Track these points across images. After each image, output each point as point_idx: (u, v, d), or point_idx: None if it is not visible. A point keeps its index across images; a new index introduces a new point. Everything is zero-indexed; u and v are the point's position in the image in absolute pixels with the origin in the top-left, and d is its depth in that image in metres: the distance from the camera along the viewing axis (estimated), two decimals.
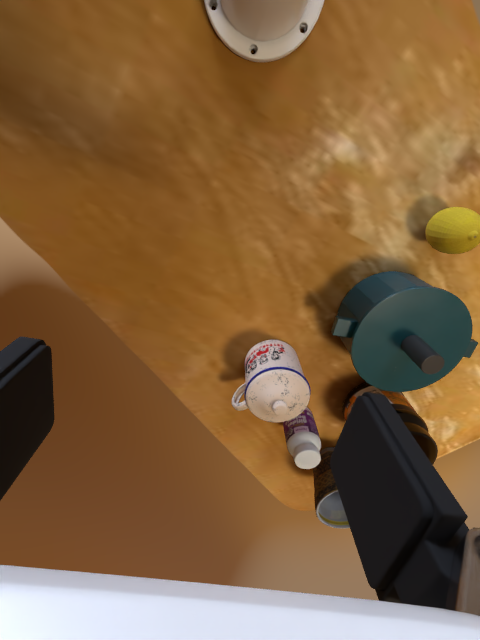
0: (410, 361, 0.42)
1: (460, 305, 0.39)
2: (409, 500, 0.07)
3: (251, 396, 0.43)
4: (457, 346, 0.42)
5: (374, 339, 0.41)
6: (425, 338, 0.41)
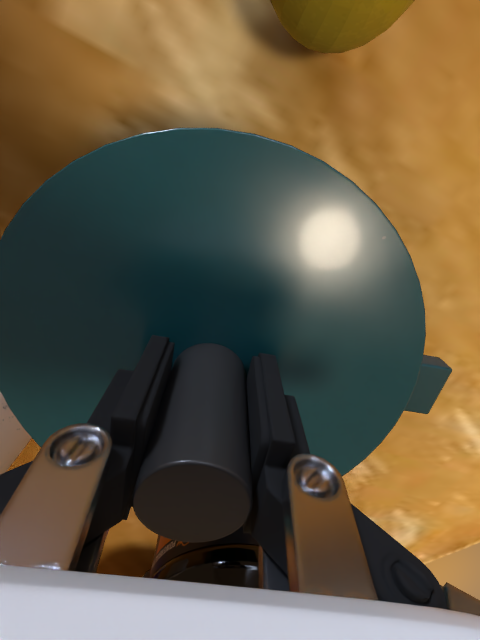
0: None
1: (370, 222, 0.09)
2: (257, 434, 0.08)
3: None
4: (375, 383, 0.12)
5: (67, 358, 0.11)
6: (257, 355, 0.11)
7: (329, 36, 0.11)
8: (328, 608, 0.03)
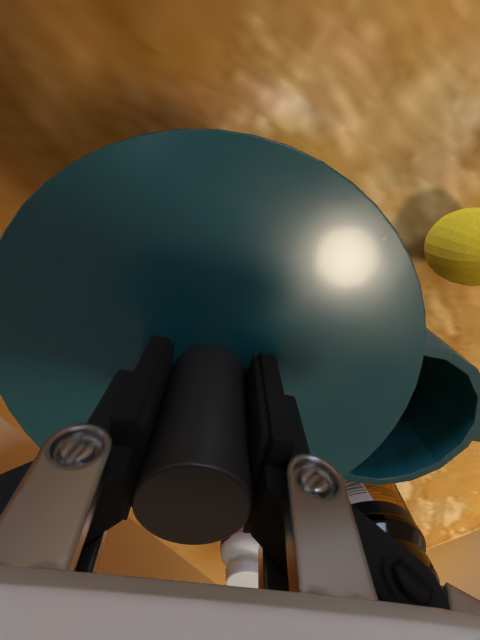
0: None
1: (370, 223, 0.09)
2: (257, 434, 0.08)
3: None
4: (375, 384, 0.12)
5: (66, 359, 0.11)
6: (257, 356, 0.11)
7: None
8: (328, 608, 0.03)
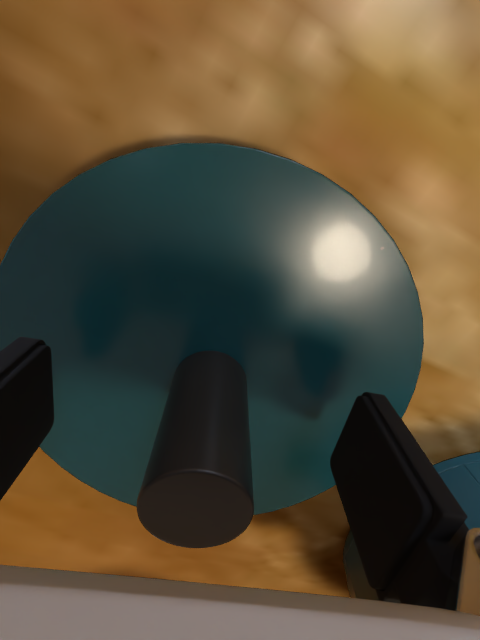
0: None
1: (368, 233, 0.10)
2: (409, 500, 0.07)
3: None
4: (374, 389, 0.12)
5: (71, 365, 0.11)
6: (258, 362, 0.11)
7: None
8: (328, 608, 0.03)
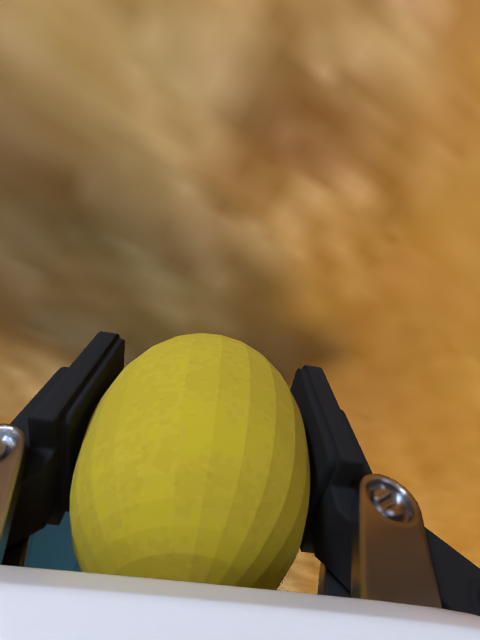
0: None
1: None
2: (320, 452, 0.07)
3: None
4: None
5: None
6: None
7: None
8: (328, 608, 0.03)
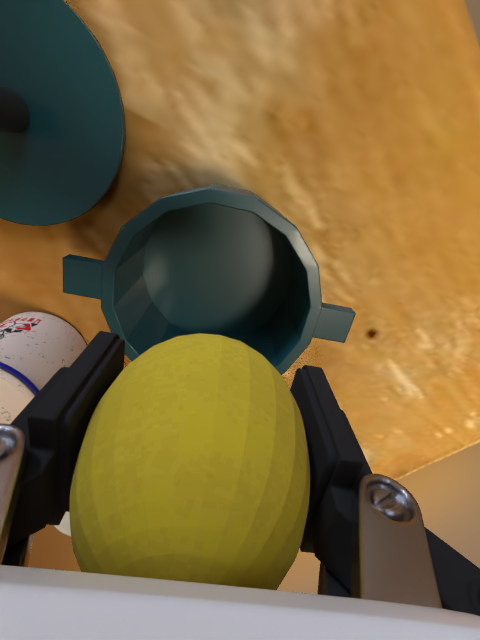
0: (27, 155, 0.23)
1: (66, 13, 0.20)
2: (320, 452, 0.07)
3: None
4: (100, 120, 0.22)
5: None
6: (32, 98, 0.22)
7: None
8: (328, 608, 0.03)
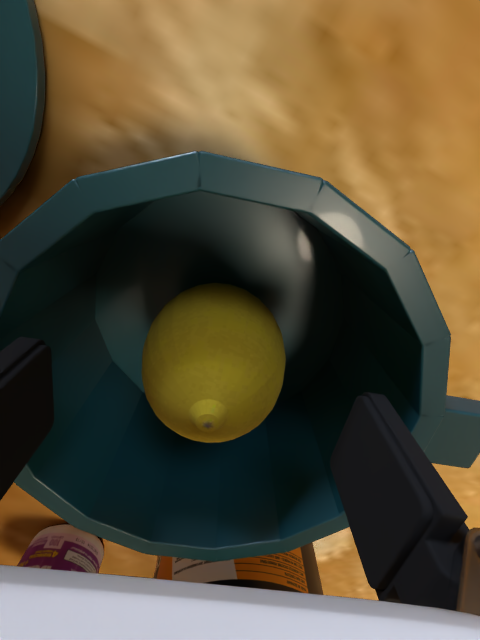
0: None
1: None
2: (409, 500, 0.07)
3: None
4: None
5: None
6: None
7: None
8: (328, 608, 0.03)
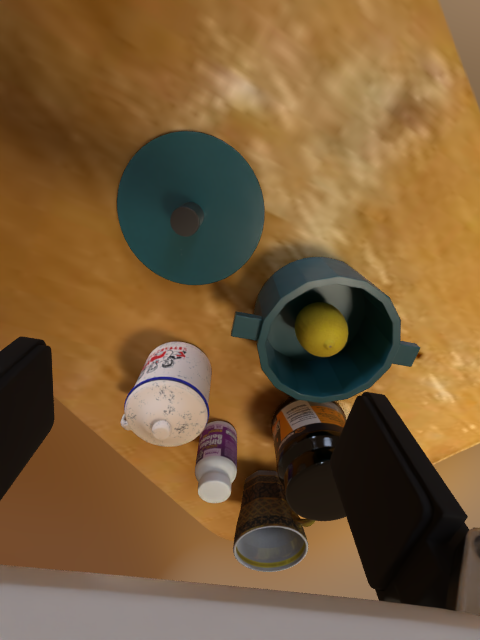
0: (197, 241, 0.35)
1: (238, 159, 0.31)
2: (409, 500, 0.07)
3: (130, 414, 0.34)
4: (249, 219, 0.34)
5: (143, 208, 0.33)
6: (207, 207, 0.33)
7: None
8: (328, 608, 0.03)
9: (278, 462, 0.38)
